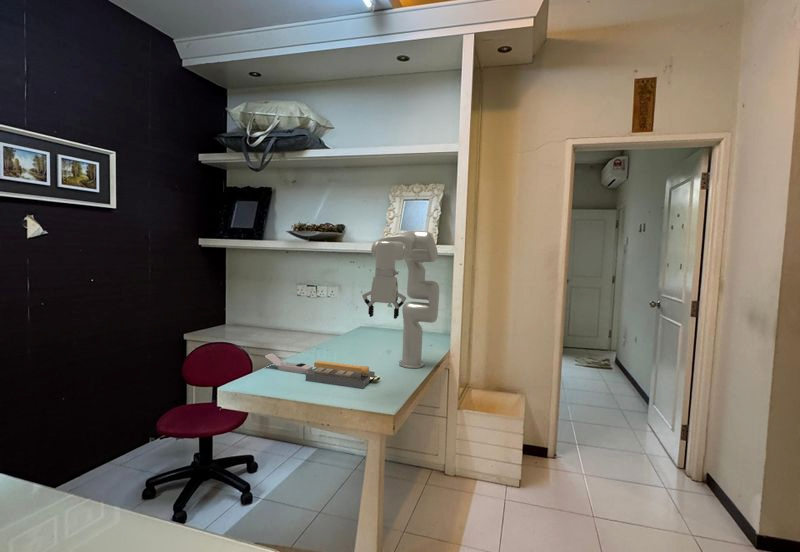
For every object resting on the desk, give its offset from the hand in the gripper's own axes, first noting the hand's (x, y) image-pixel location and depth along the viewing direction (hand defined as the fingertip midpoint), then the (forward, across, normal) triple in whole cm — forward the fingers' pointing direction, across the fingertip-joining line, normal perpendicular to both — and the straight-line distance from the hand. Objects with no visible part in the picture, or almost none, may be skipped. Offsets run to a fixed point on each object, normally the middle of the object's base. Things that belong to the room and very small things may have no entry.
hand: (383, 317), depth 156 cm
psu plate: (+31, +21, -12) cm, 39 cm away
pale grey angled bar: (+31, +48, -18) cm, 60 cm away
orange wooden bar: (+26, +20, -12) cm, 35 cm away
